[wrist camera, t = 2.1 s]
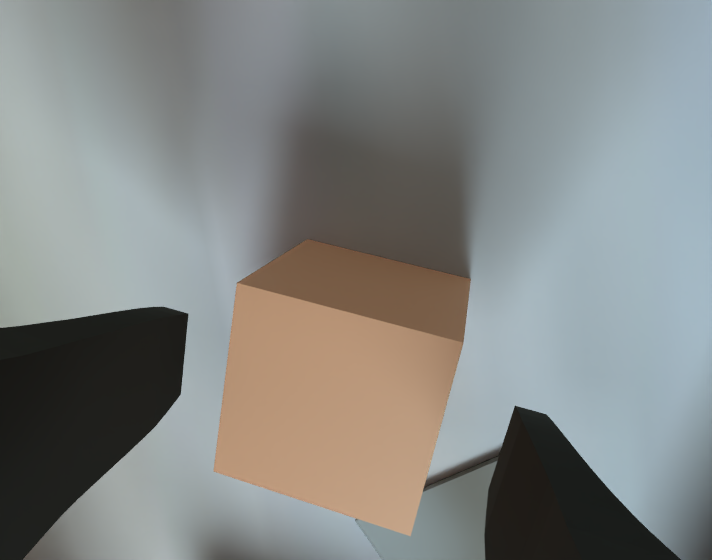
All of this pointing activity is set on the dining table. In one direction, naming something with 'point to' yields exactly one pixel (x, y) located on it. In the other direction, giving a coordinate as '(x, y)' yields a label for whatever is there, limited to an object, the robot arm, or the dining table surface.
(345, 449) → the cube
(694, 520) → the dining table surface
